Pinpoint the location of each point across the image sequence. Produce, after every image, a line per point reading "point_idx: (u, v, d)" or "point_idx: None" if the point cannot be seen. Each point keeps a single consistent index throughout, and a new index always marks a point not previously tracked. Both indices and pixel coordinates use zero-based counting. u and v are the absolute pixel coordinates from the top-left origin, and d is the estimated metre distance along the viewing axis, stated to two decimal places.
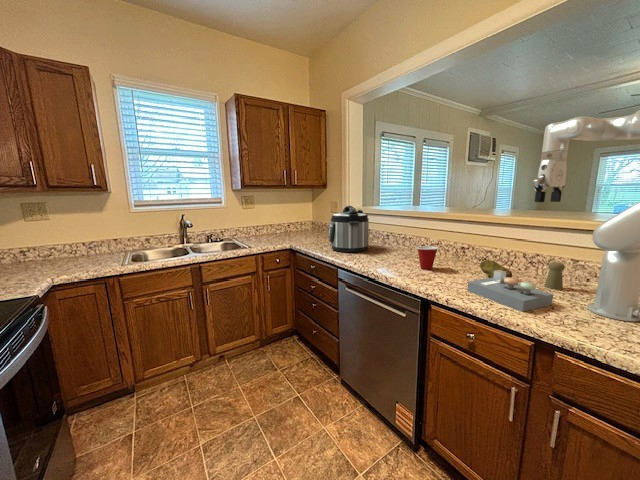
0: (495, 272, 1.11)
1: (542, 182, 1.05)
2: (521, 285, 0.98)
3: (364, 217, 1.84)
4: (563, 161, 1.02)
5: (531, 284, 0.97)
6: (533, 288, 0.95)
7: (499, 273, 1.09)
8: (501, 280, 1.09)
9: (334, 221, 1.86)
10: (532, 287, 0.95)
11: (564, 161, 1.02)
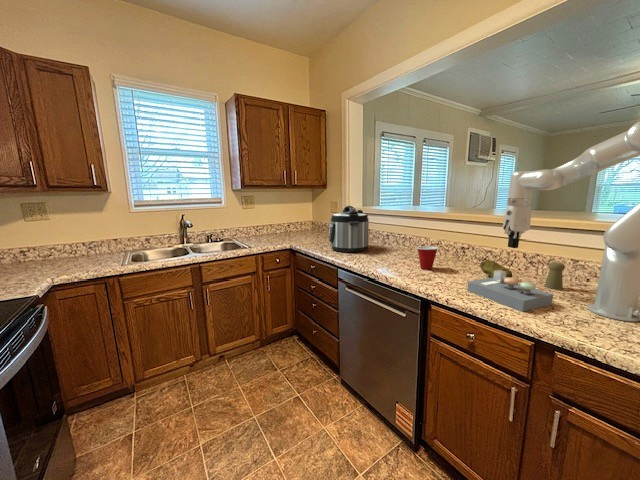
0: (495, 272, 1.11)
1: None
2: (521, 285, 0.98)
3: (364, 217, 1.84)
4: (527, 207, 1.06)
5: (531, 284, 0.97)
6: (533, 288, 0.95)
7: (499, 273, 1.09)
8: (501, 280, 1.09)
9: (334, 221, 1.86)
10: (532, 287, 0.95)
11: (528, 207, 1.07)
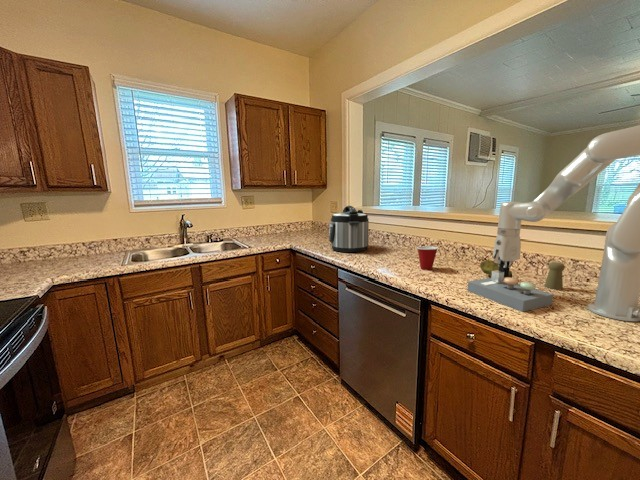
0: (493, 272, 1.10)
1: None
2: (521, 285, 0.98)
3: (364, 217, 1.84)
4: (517, 237, 1.07)
5: (531, 284, 0.97)
6: (533, 288, 0.95)
7: (497, 273, 1.09)
8: (499, 280, 1.09)
9: (334, 221, 1.86)
10: (532, 287, 0.95)
11: (518, 237, 1.07)
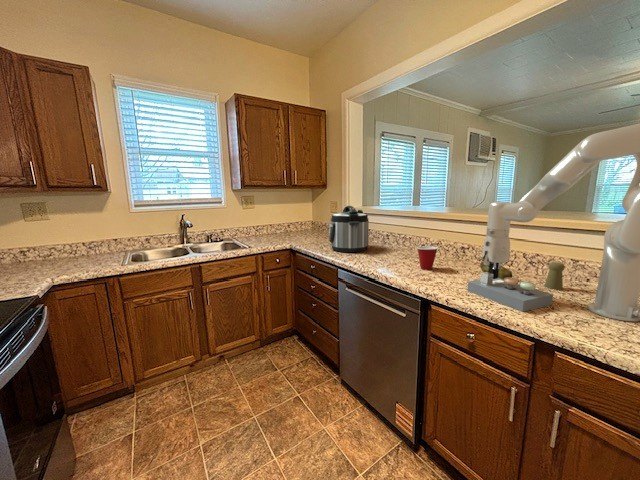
0: (482, 274, 1.08)
1: None
2: (521, 285, 0.98)
3: (364, 217, 1.84)
4: (506, 238, 1.05)
5: (531, 284, 0.97)
6: (533, 288, 0.95)
7: (486, 275, 1.07)
8: (488, 282, 1.07)
9: (334, 221, 1.86)
10: (532, 287, 0.95)
11: (507, 238, 1.05)
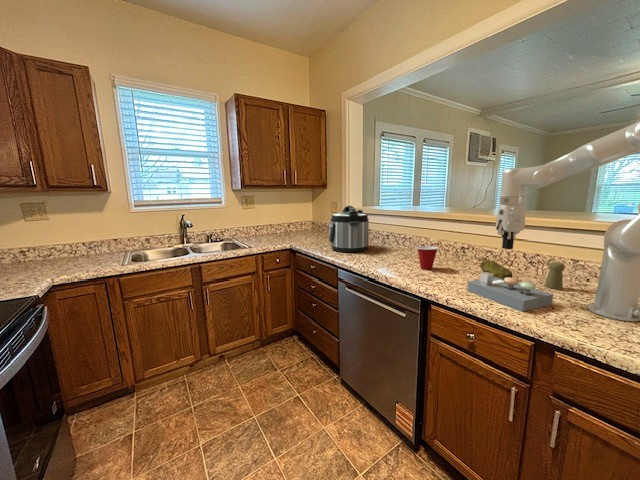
0: (482, 274, 1.08)
1: None
2: (521, 285, 0.98)
3: (364, 217, 1.84)
4: (521, 206, 1.01)
5: (531, 284, 0.97)
6: (533, 288, 0.95)
7: (486, 275, 1.07)
8: (488, 282, 1.07)
9: (334, 221, 1.86)
10: (532, 287, 0.95)
11: (522, 206, 1.01)
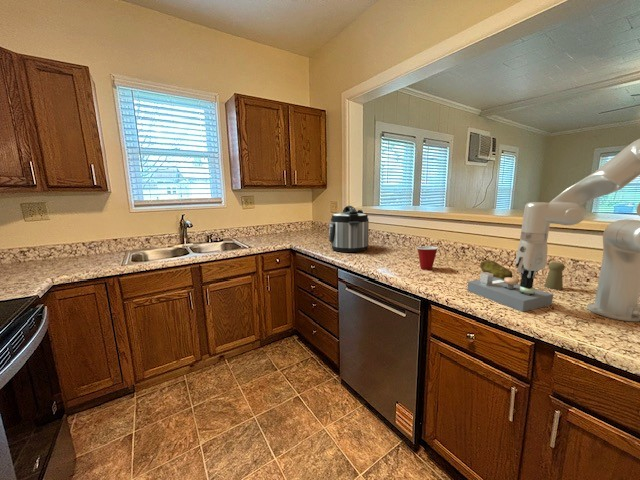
0: (482, 274, 1.08)
1: None
2: (521, 289, 0.98)
3: (364, 217, 1.84)
4: (543, 244, 0.93)
5: (531, 288, 0.97)
6: (533, 292, 0.96)
7: (486, 275, 1.07)
8: (488, 282, 1.07)
9: (334, 221, 1.86)
10: (532, 291, 0.96)
11: (545, 243, 0.93)
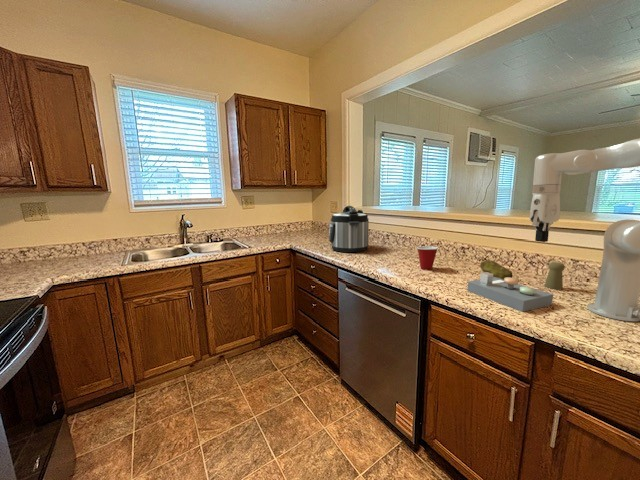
0: (482, 274, 1.08)
1: None
2: (520, 290, 0.98)
3: (364, 217, 1.84)
4: (556, 195, 0.94)
5: (530, 289, 0.97)
6: (532, 293, 0.96)
7: (486, 275, 1.07)
8: (488, 282, 1.07)
9: (334, 221, 1.86)
10: (531, 292, 0.96)
11: (557, 195, 0.94)
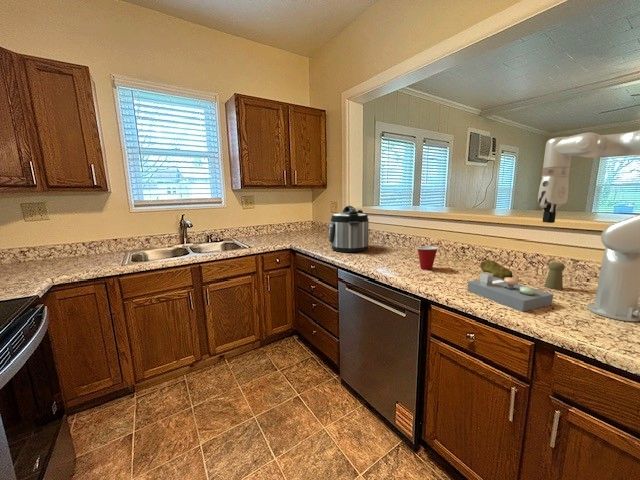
0: (482, 274, 1.08)
1: None
2: (520, 290, 0.98)
3: (364, 217, 1.84)
4: (565, 177, 0.98)
5: (530, 289, 0.97)
6: (532, 293, 0.96)
7: (486, 275, 1.07)
8: (488, 282, 1.07)
9: (334, 221, 1.86)
10: (531, 292, 0.96)
11: (566, 177, 0.98)
